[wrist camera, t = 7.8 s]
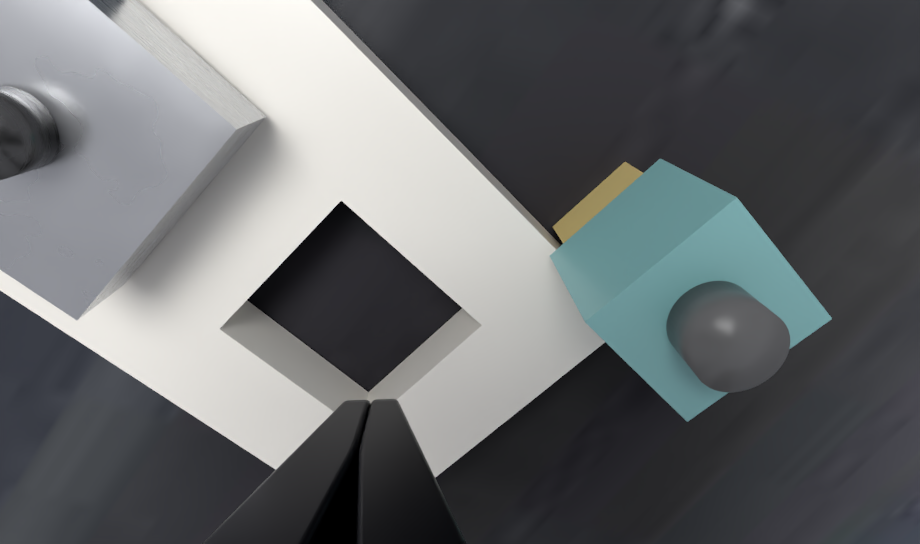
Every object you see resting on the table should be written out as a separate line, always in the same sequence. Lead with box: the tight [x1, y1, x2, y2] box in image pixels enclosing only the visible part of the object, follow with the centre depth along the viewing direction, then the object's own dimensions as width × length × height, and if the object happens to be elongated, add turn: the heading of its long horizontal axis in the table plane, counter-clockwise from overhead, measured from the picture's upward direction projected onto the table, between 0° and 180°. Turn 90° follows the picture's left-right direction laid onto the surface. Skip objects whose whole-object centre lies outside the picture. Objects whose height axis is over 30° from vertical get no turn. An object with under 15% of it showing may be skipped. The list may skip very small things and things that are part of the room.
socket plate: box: [0, 0, 605, 477], centre depth 19 cm, size 18×14×2 cm
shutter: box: [0, 0, 266, 320], centre depth 13 cm, size 8×8×4 cm
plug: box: [550, 159, 832, 422], centre depth 16 cm, size 4×4×9 cm
